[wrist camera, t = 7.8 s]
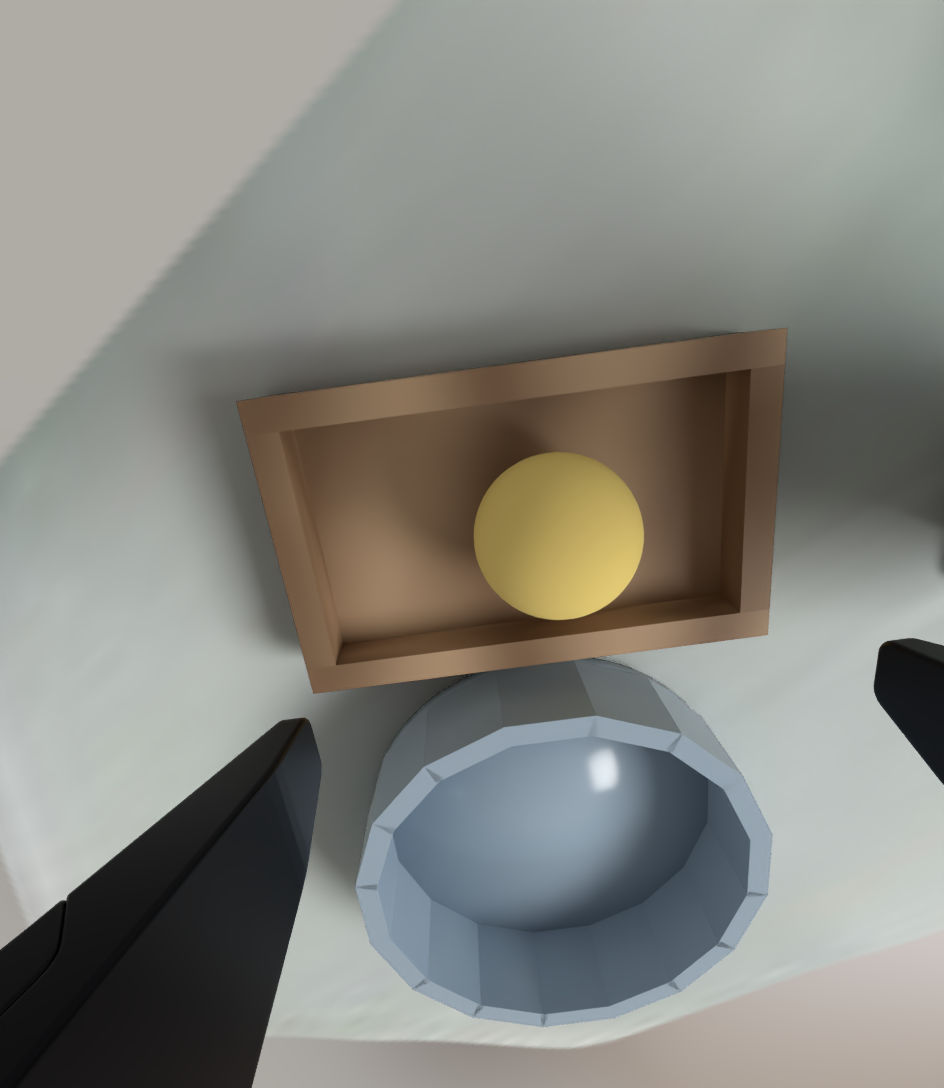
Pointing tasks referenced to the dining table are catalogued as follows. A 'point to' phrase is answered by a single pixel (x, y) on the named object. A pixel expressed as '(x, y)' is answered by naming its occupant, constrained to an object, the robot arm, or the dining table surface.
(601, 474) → the ball
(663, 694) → the bowl
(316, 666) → the tray
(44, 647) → the dining table surface
